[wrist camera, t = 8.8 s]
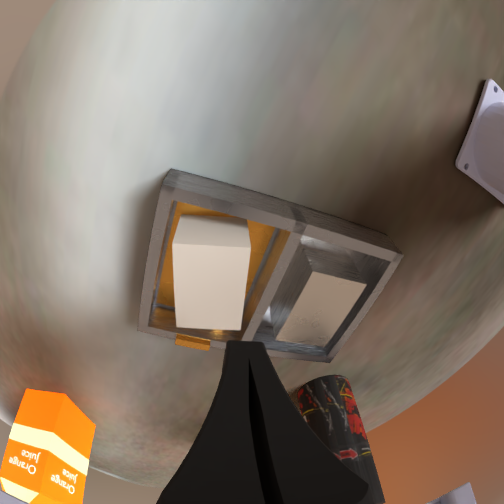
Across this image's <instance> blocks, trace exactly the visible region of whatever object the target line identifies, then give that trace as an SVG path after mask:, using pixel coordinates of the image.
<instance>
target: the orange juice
mask: <svg viewBox="0 0 504 504" xmlns="http://www.w3.org/2000/svg"><path fill="white" fill-rule="evenodd" d="M95 426H96V425H95V424H94V423H93V422H92V421H91V420H89V419H88V418H87V417H86V416H85V415H84V414H83V413H82V412H81V411H80V409H79V408H78V407H77V406H76V405H75V404H74V403H73V402H72V401H71V400H70V399H69V398H68V397H67V396H66V395H65V394H62V393H54V392H46V391H39V390H32V389H26V391H25V394H24V396H23V399H22V402H21V404H20V407H19V410H18V413H17V416H16V419H15V422H14V423H13V426H12V430H11V433H10V436H9V441H8V444H7V447H6V451H5V455H4V459H3V462H2V466H1V470H0V481H1V486H2V489H3V491H5V492H7V493H8V494H10V495H12V496H14V497H17V498H19V499H21V500H23V501H25V502H27V503H29V504H82V500H83V493H84V486H85V479H86V475H87V469H88V464H89V456H90V450H91V445H92V440H93V435H94V430H95Z"/></svg>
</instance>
